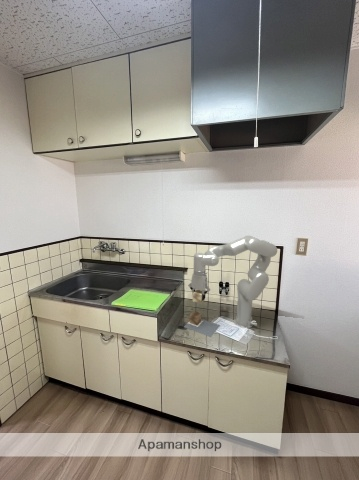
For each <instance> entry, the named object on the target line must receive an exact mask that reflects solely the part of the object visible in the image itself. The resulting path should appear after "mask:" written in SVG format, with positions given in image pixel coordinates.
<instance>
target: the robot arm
mask: <svg viewBox="0 0 359 480" xmlns="http://www.w3.org/2000/svg"><path fill="white" fill-rule="evenodd" d="M246 251H250V252H252V253H254V254H257V257H256V259H255V261H254V263H253V264H252V265H251V267H250V268H249V270H247V277H248V279H245V278H243V279H240V280H239V281H238V282H237V285H236V286H237V287H236V288H237V289H236V290H237V305H236V306H237V308H236V318H234V319H233V321H234V324H235V325H236V326H238V327H239V328H245V329H250V328H252V327H253V326H255V327H258V323H257V321H256V320H254V319H253V317H252V313H253V312H252V311H253V310H252V309H253V301H255V300H257V299H258V298H259V297H260V295H261V294H262V292H263V291H264V289H265V288H266V286H267V285H268V283H269V280H270V278H269V274H268V273H267V272H266V270H267V269H268V267H269V266H270V264H271V258H273V257H275V256H277V253H278V248H277V246H276V245H275V244H273V243H272V242H270V241H266V240H263V239H262V240H261V239H259V238H256V237H254V236H252V235H245V236H243V237H241V238H238V239H236V240H234V241H232V242H229V243H225V244H222V245H218V246H214V247H212V248H210V249H208V250H206V251H205V252H204V253H202V252H197V253H194V255H193V273H192V275H191V276H192V277H191V281H190V283H189V284H188V288H189V289H190V291H191V292H192V294H191V295H192V297H193V292H194V291H196V290H201V291H202V293H203V294H202V300H204V299H205V300H206V294H208V293H209V292H210V291H211V288H210V287H209V285H208V276H207V275H208V272H207V271H206V266H208V267H215V266H217V265H218V264H219V262H220V259H219V257H225V256H229V257H230V256H231V257H235V256H237V255H239V254H242V253H244V252H246ZM249 279H250V280H251V281H250V280H249ZM205 300H204V301H205Z"/></svg>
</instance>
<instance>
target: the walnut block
mask: <svg viewBox="0 0 359 480" xmlns="http://www.w3.org/2000/svg"><path fill="white" fill-rule="evenodd" d="M202 319H203V317H202V313H201V312H198V311H196V310H195V311H192V312H191V313H190V314H189V321H190V323H191V324H194V325H197V326H198V324H199V323H200V322H201V321H202Z"/></svg>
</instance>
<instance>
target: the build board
mask: <svg viewBox="0 0 359 480" xmlns="http://www.w3.org/2000/svg"><path fill="white" fill-rule="evenodd" d="M183 327H184V328H185V329H189V330H190V331H192V332H196V333H198V334H201V335H204V336H206V337H209V338H212V337H213V335H214V334H215V333H216V332H217V330H219V328H220V327H221V325H220V324H217V323H214V322H212V321H209V320H206V319H203V318H202V321H201V322H200V323H199V324H198V326H197V325H194V324H191V323H190V320H189V321H188V322H186V324H185V325H183Z"/></svg>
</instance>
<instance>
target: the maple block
mask: <svg viewBox="0 0 359 480" xmlns="http://www.w3.org/2000/svg"><path fill="white" fill-rule="evenodd" d="M202 294H203V293H202V290H198V289H195V291H194V292H193V296H192V302H193V303H197V304H202V303H204V301H205V300H206V298H205V299H204V300H202Z"/></svg>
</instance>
